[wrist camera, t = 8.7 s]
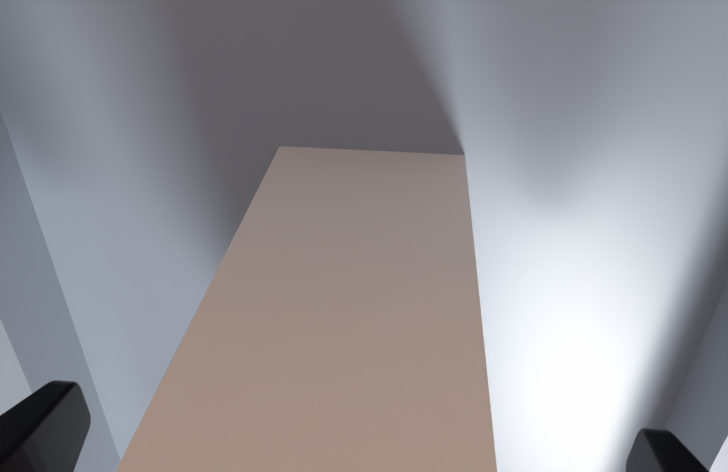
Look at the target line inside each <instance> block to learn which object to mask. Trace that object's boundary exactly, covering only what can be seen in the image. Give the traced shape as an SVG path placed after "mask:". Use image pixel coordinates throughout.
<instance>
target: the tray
mask: <svg viewBox="0 0 728 472" xmlns="http://www.w3.org/2000/svg"><path fill="white" fill-rule="evenodd" d="M279 146H289V147H309V148H330V149H351V150H371V151H392V152H412V153H433V154H453V155H465V159H466V169H467V178H468V188H469V198H470V208H471V218H472V228H473V238H474V248H475V258H476V267H477V277H478V287H479V297H480V307H481V317H482V327H483V337H484V347H485V356H486V366H487V376H488V386H489V396H490V406H491V416H492V426H493V435H494V445H495V455H496V465H497V472H626V461H627V458H628V456H629V453H630V450H631V448H632V445H633V443H634V440H635V438H636V435H637V433H638V431H639V430H640V429H641V428H658V429H666V430H669V431H670V432H672V433H673V434H674V435H675V436H676V437H677V438H678V439H679V440H680V441H681V442H682V443H683V444H684V445H685V446H686V447H687V448H688V449H689V451H690V452H691V453H692V454H693V455H694V456H695V457H696V458H697V459H698V460H699V461H700V462H701V463H702V464H703V465H704V466H705V467H706V468H707V469H708V470H709V471H710V472H728V0H0V415H1V414H3V413H4V412H6V411H7V410H9V409H10V408H12V407H13V406H15V405H16V404H17V403H19V402H20V401H22V400H23V399H25V398H26V397H28V396H29V395H31V394H32V393H33V392H35V391H36V390H38V389H39V388H41V387H42V386H44V385H45V384H47V383H48V382H51V381H53V380H63V381H74V382H77V383H78V384H79V385H80V386H81V389H82V391H83V394H84V397H85V400H86V403H87V405H88V408H89V411H90V415H91V424H90V428H89V432H88V434H87V437H86V440H85V442H84V445H83V448H82V450H81V453H80V456H79V459H78V461H77V464H76V467H75V469H74V472H115V471H116V469H117V467H118V465H119V463H120V461H121V459H122V457H123V455H124V453H125V451H126V449H127V447H128V445H129V443H130V441H131V439H132V437H133V435H134V433H135V431H136V429H137V427H138V425H139V423H140V421H141V419H142V417H143V415H144V414H145V412H146V410H147V408H148V406H149V404H150V402H151V400H152V398H153V396H154V394H155V392H156V390H157V388H158V386H159V384H160V382H161V380H162V378H163V376H164V374H165V372H166V370H167V368H168V366H169V364H170V362H171V360H172V358H173V356H174V354H175V352H176V350H177V348H178V346H179V344H180V342H181V340H182V338H183V336H184V334H185V332H186V330H187V328H188V326H189V324H190V322H191V321H192V319H193V317H194V315H195V313H196V311H197V309H198V307H199V305H200V303H201V301H202V299H203V297H204V295H205V293H206V291H207V289H208V287H209V285H210V283H211V281H212V279H213V277H214V275H215V273H216V271H217V269H218V267H219V265H220V263H221V261H222V259H223V257H224V255H225V253H226V251H227V249H228V247H229V245H230V243H231V241H232V239H233V237H234V235H235V233H236V231H237V229H238V227H239V226H240V224H241V222H242V220H243V218H244V216H245V214H246V212H247V210H248V208H249V206H250V204H251V202H252V200H253V198H254V196H255V194H256V192H257V190H258V188H259V186H260V184H261V182H262V180H263V178H264V176H265V174H266V172H267V170H268V168H269V166H270V164H271V162H272V160H273V158H274V156H275V154H276V152H277V150H278V148H279Z"/></svg>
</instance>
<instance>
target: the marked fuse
mask: <svg viewBox="0 0 728 472" xmlns="http://www.w3.org/2000/svg"><path fill="white" fill-rule="evenodd" d="M115 472H497V465H496V455H495V445H494V435H493V426H492V416H491V406H490V396H489V386H488V376H487V366H486V356H485V347H484V337H483V327H482V317H481V307H480V297H479V287H478V277H477V267H476V258H475V248H474V238H473V228H472V218H471V208H470V198H469V188H468V178H467V169H466V159H465V155H453V154H433V153H412V152H392V151H371V150H351V149H330V148H309V147H289V146H279V148H278V150H277V152H276V154H275V156H274V158H273V160H272V162H271V164H270V166H269V168H268V170H267V172H266V174H265V176H264V178H263V180H262V182H261V184H260V186H259V188H258V190H257V192H256V194H255V196H254V198H253V200H252V202H251V204H250V206H249V208H248V210H247V212H246V214H245V216H244V218H243V220H242V222H241V224H240V226H239V227H238V229H237V231H236V233H235V235H234V237H233V239H232V241H231V243H230V245H229V247H228V249H227V251H226V253H225V255H224V257H223V259H222V261H221V263H220V265H219V267H218V269H217V271H216V273H215V275H214V277H213V279H212V281H211V283H210V285H209V287H208V289H207V291H206V293H205V295H204V297H203V299H202V301H201V303H200V305H199V307H198V309H197V311H196V313H195V315H194V317H193V319H192V321H191V322H190V324H189V326H188V328H187V330H186V332H185V334H184V336H183V338H182V340H181V342H180V344H179V346H178V348H177V350H176V352H175V354H174V356H173V358H172V360H171V362H170V364H169V366H168V368H167V370H166V372H165V374H164V376H163V378H162V380H161V382H160V384H159V386H158V388H157V390H156V392H155V394H154V396H153V398H152V400H151V402H150V404H149V406H148V408H147V410H146V412H145V414H144V415H143V417H142V419H141V421H140V423H139V425H138V427H137V429H136V431H135V433H134V435H133V437H132V439H131V441H130V443H129V445H128V447H127V449H126V451H125V453H124V455H123V457H122V459H121V461H120V463H119V465H118V467H117V469H116V471H115Z"/></svg>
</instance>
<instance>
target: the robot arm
mask: <svg viewBox="0 0 728 472" xmlns="http://www.w3.org/2000/svg"><path fill="white" fill-rule="evenodd" d="M90 424H91V415H90V411H89V408H88V405H87V403H86V400H85V397H84V394H83V391H82V389H81V386H80V385H79V384H78V383H77V382H74V381H63V380H53V381H51V382H48V383H47V384H45V385H44V386H42V387H41V388H39V389H38V390H36V391H35V392H33V393H32V394H31V395H29V396H28V397H26V398H25V399H23V400H22V401H20V402H19V403H17V404H16V405H15V406H13V407H12V408H10V409H9V410H7V411H6V412H4V413H3V414H1V415H0V472H74V469H75V467H76V464H77V461H78V459H79V456H80V453H81V450H82V448H83V445H84V442H85V440H86V437H87V434H88V432H89V428H90ZM626 472H710V471H709V470H708V469H707V468H706V467H705V466H704V465H703V464H702V463H701V462H700V461H699V460H698V459H697V458H696V457H695V456H694V455H693V454H692V453H691V452H690V451H689V449H688V448H687V447H686V446H685V445H684V444H683V443H682V442H681V441H680V440H679V439H678V438H677V437H676V436H675V435H674V434H673V433H672V432H670V431H669V430H666V429H658V428H641V429H640V430H639V431H638V433H637V435H636V438H635V440H634V443H633V445H632V448H631V450H630V453H629V456H628V458H627V461H626Z"/></svg>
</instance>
